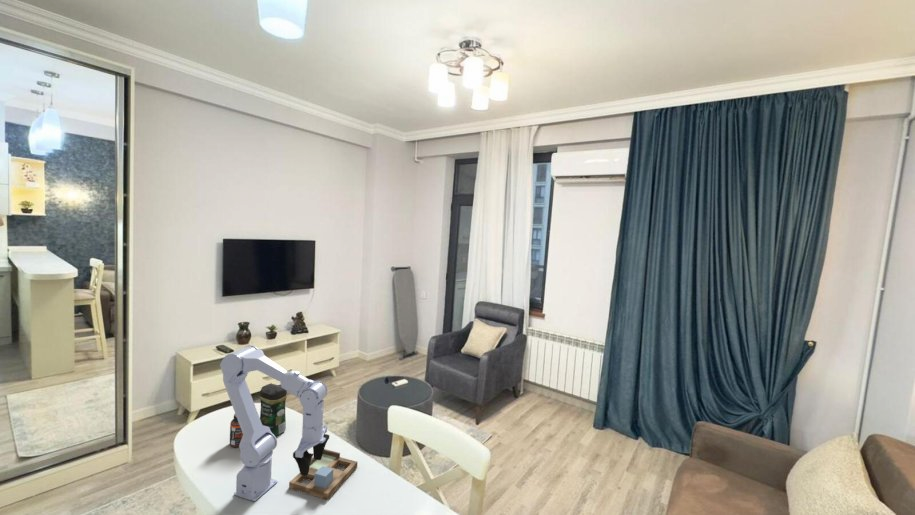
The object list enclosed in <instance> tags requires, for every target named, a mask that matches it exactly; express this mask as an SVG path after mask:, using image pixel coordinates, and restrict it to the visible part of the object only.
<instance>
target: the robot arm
mask: <svg viewBox="0 0 915 515" xmlns="http://www.w3.org/2000/svg"><path fill="white" fill-rule="evenodd" d="M219 367H220V369H221V373H222V381H223V384H224V387H225V389H226V392H227V395H228V398H229V400H230V403H231V406H232V409H233V411H234V414H236V417H237V419H238V422H239V425H240V427H241V430H242V433H243V437H242V439H241V442H240V444H239V447H238V448H239V451H240V454H239V455H240V460H241V463H242V464H243V467H242V468H241V470H239V471H238V473H237V474H236V484H235V488H236V489H235V492H233V496H237V497H240V498H242V499H246V500H249V501H252V502H256V501H257V500H259V498H261V497H262V496H263V495H264V494H266V493H267V492H268V491H269V490H270V489H272V488H273V486H275V485H276V484H277V483H278V480H277V479H273V478H272V466H273V465H272V460H273V459H272V458H273V452H274V450H275V449H276V447H277V445H278V439H277V437H276V436H275V435H274V434H273V433H272V432H271V430H270V428H269V427H267V426H263V425H262V423H261V420H260V415H259V413H258V410H257V408H256V405H255V403H254V399H253V397H252V394H251V392H250V388H249V387H248V384H247V381H246V378H247V376H248V374H249V373H251V372H255V371H258V372H260V373H262V374H263V375H264V374H265V375H266V376H267V377H270V378H271V379H273V380H276V381H277V382H280V383H279V384H280V386H281V387H282V388H283V389H285V390H286V391H287V393H290V394H291V395H293V396H295V397H296V398H298V399H299V403H300V404H301V406H302V431H301V433H302V434H301V436H302V437H301V439H300V441H299V444H298V446H297V448H296V450H294V452H293V453H292V458H293V459H294V461H295V462H296V464H297V466H298V470H299V473H300V474H301V475H305V476H307V475H308V473H309V467H310V462H311V459H312V458H313V457H314V459H316V460H321V458H322V455H323V451H324V449H326V445H327V443H328V441H329V440H330V434H328V433H327V432H328V426H327V425H323V424H324V423H323V422H324V399H325V398H326V396H327V395H328V387H327V385H326V384H325V383H324V382H322V381H321V380H313V379H309V378H308V377H305V375H302V374H301V372H300V371H298V370H296V371H295V370H294V369H293V370H290V371H287V370H286V369H285V368H283V367H282V366H281V365H279V364H278V363H276V362H275V361H273V360H272V359H270V358H269V357H268V356H266V355H265V353H264V351H263V349H260V348H258V347H257V346H256V345H252V344H249V345H246V346H244V347H243V348H240V349H238V350H236V351H233V352H230V353H228V354H226V355H225V356H224V357H223V359H221V361H220V364H219ZM310 449H312V451H313V453H310V452H309V450H310Z"/></svg>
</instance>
